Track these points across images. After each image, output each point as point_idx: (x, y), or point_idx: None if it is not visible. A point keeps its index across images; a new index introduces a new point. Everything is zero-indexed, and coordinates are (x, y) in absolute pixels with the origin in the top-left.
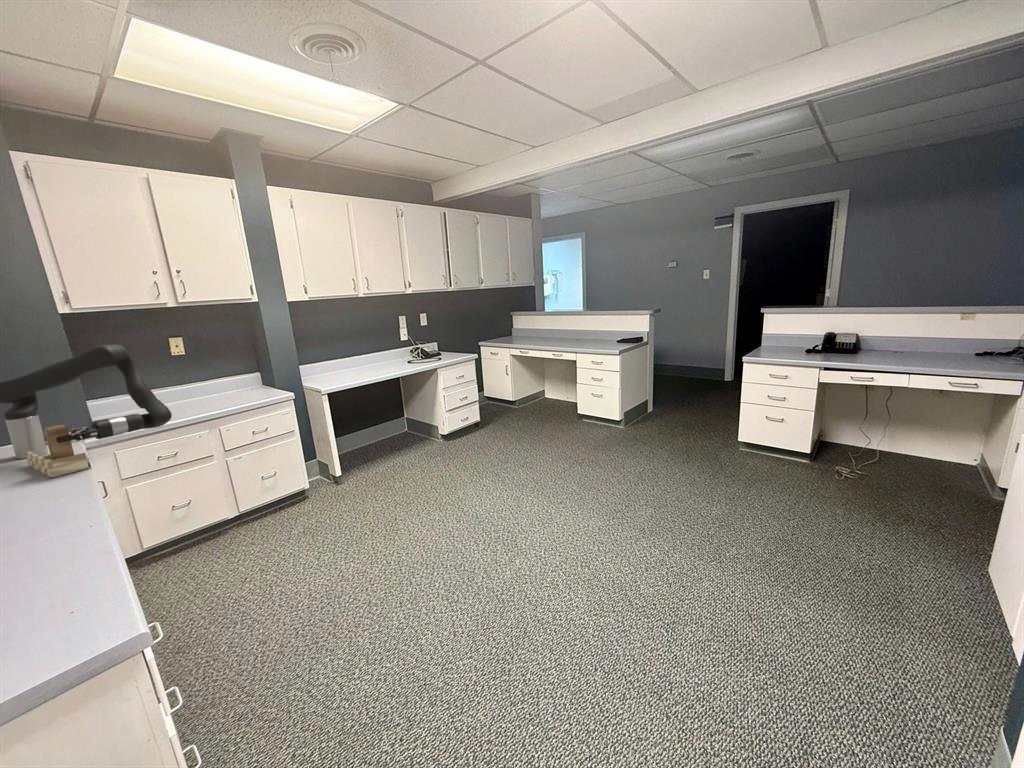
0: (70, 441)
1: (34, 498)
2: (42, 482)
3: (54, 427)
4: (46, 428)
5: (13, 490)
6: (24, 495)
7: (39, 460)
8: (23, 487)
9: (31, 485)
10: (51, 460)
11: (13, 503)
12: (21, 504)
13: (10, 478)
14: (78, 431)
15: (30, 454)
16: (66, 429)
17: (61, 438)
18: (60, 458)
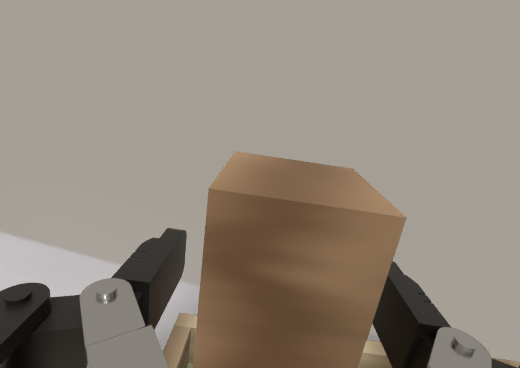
0: (194, 366)
1: (3, 273)
2: (162, 348)
3: (282, 170)
4: (311, 164)
5: (182, 289)
6: (79, 278)
7: None
8: (180, 307)
9: (172, 322)
10: (189, 329)
11: (47, 251)
12: (7, 251)
13: (371, 337)
14: (107, 341)
15: (513, 364)
16: (208, 227)
17: (144, 246)
18: (174, 365)
